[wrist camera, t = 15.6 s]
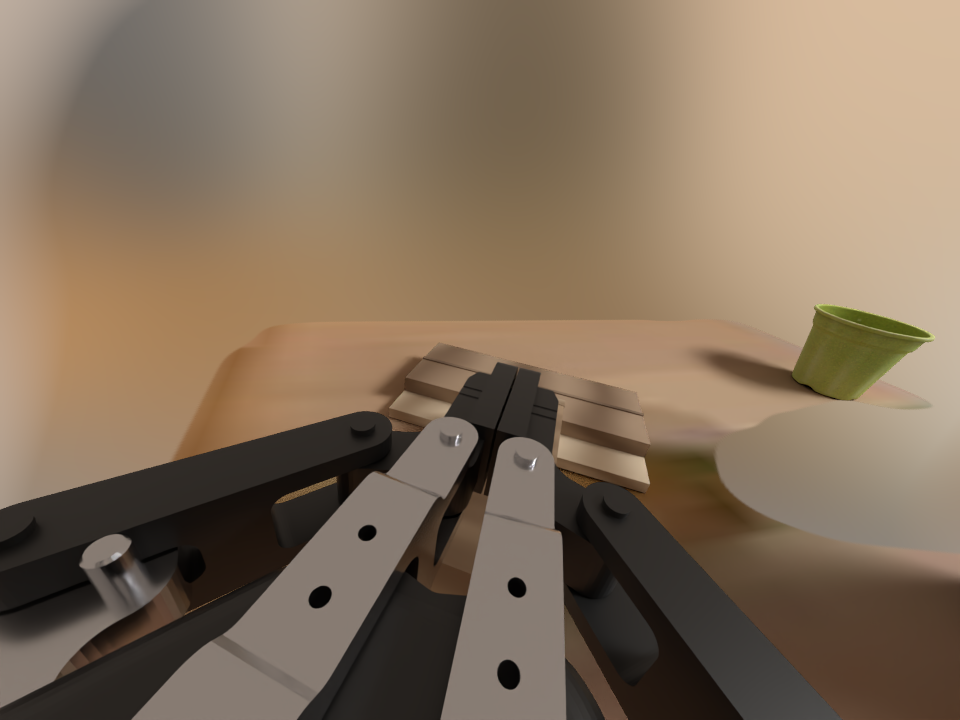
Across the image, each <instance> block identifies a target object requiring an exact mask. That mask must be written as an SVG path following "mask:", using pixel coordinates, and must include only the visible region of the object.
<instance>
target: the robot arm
mask: <svg viewBox="0 0 960 720" xmlns="http://www.w3.org/2000/svg"><path fill="white" fill-rule="evenodd" d="M517 373H518V374H517ZM540 375H541V372H537V371H533V370H529V369H525V368H521V367H520V369H519V372H518V367H517V366H513V365H509V364H505V363H501V362H497V364H496V366H495V367H494V369H493V371H492V373H491V375H490V374H486V373H482V372H477V373H476V374H474V375H472V376H470V377H469V378H468V379H467V381H466V382H465V384H464V386H463V387H462V389H461V390H460V392H459V394H458V395H457V397H456V398H455V400H454V402H453V403H452V405H451V406H450V408H449V410H448V411H447V413H446V414H445V416H444V417H442V418H438V419H435V420H433V421H431V422H430V423H429V424H428V425H427V426H426V427H425V428H424V429H423V430H422V431H421V432H400V431H392V424H391V422H390V420H389V419H388V418H387V417H385V416H384V415H382V414H379V413H376V412H369V411H362V412H356V413H351V414H348V415H344V416H340V417H337V418H333V419H329V420H326V421H322V422H318V423H314V424H311V425H307V426H303V427H300V428H296V429H292V430H288V431H285V432H281V433H277V434H274V435H270V436H266V437H263V438H259V439H255V440H251V441H248V442H244V443H240V444H237V445H233V446H229V447H225V448H222V449H218V450H214V451H211V452H207V453H203V454H199V455H196V456H192V457H188V458H185V459H181V460H177V461H174V462H170V463H166V464H163V465H159V466H155V467H151V468H148V469H144V470H140V471H137V472H133V473H129V474H125V475H122V476H118V477H114V478H111V479H107V480H104V481H100V482H96V483H92V484H88V485H85V486H81V487H78V488H73V489H70V490H66V491H62V492H59V493H55V494H51V495H47V496H44V497H40V498H36V499H33V500H29V501H26V502H22V503H18V504H15V505H12V506H9V507H6V508H4V509H1V510H0V720H605V718H604V716H603V714H602V712H601V710H600V708H599V706H598V704H597V702H596V700H595V699H594V697H593V695H592V694H591V692H590V690H589V689H588V687H587V685H586V684H585V682H584V681H583V679H582V678H581V677H580V675H579V674H578V673H577V671H576V670H575V669H574V667H573V666H572V665H571V664H570V663H569V662H568V660H567V659H566V658H565V639H564V604H565V606H566V608H567V609H568V611H569V613H570V615H571V617H572V618H573V620H574V622H575V624H576V626H577V627H578V629H579V631H580V633H581V635H582V637H583V638H584V640H585V642H586V644H587V646H588V647H589V649H590V651H591V653H592V655H593V656H594V658H595V660H596V662H597V664H598V665H599V667H600V669H601V671H602V673H603V674H604V676H605V678H606V680H607V682H608V684H609V685H610V687H611V689H612V691H613V693H614V694H615V696H616V698H617V700H618V702H619V703H620V705H621V707H622V709H623V711H624V712H625V714H626V716H627V718H628V720H842V719H841V718H840V716H839V715H838V714H837V713H836V712H835V711H834V710H833V709H832V708H831V707H830V706H829V705H828V704H827V702H826V701H825V700H824V699H823V698H822V697H821V696H820V695H819V694H818V693H817V692H816V691H815V690H814V688H813V687H812V686H811V685H810V684H809V683H808V682H807V681H806V680H805V679H804V678H803V677H802V676H801V674H800V673H799V672H798V671H797V670H796V669H795V668H794V667H793V666H792V665H791V664H790V663H789V662H788V660H787V659H786V658H785V657H784V656H783V655H782V654H781V653H780V652H779V651H778V650H777V649H776V648H775V646H774V645H773V644H772V643H771V642H770V641H769V640H768V639H767V638H766V637H765V636H764V635H763V633H762V632H761V631H760V630H759V629H758V628H757V627H756V626H755V625H754V624H753V623H752V622H751V621H750V619H749V618H748V617H747V616H746V615H745V614H744V613H743V612H742V611H741V610H740V609H739V608H738V607H737V605H736V604H735V603H734V602H733V601H732V600H731V599H730V598H729V597H728V596H727V595H726V594H725V593H724V591H723V590H722V589H721V588H720V587H719V586H718V585H717V584H716V583H715V582H714V581H713V580H712V579H711V577H710V576H709V575H708V574H707V573H706V572H705V571H704V570H703V569H702V568H701V567H700V566H699V565H698V563H697V562H696V561H695V560H694V559H693V558H692V557H691V556H690V555H689V554H688V553H687V552H686V551H685V549H684V548H683V547H682V546H681V545H680V544H679V543H678V542H677V541H676V540H675V539H674V538H673V536H672V535H671V534H670V533H669V532H668V531H667V530H666V529H665V528H664V527H663V526H662V525H661V524H660V522H659V521H658V520H657V519H656V518H655V517H654V516H653V515H652V514H651V513H650V512H649V511H648V510H647V508H646V507H645V506H644V505H643V504H642V503H641V502H640V501H639V500H638V499H637V498H636V497H635V496H634V495H633V494H631V493H630V492H629V491H627V490H625V489H624V488H622V487H620V486H617V485H615V484H611V483H606V482H597V483H593V484H590V485H589V486H587V488H584V487H583V486H581V485H579V484H577V483H576V482H574V481H572V480H571V479H569V478H568V477H566V476H565V475H564V474H563V473H562V472H561V471H560V470H559V469H558V467H557V466H556V464H555V462H554V458H553V456H552V451H553V443H554V435H555V427H556V419H557V411H558V403H559V401H558V399H557V397H556V395H555V393H554V391H552V390H548V389H544V388H540V387H538V384H539V380H540ZM333 477H336V478H337V483H334V484H332V485H329V486H326V487H324V488H321V489H318V490H316V491H313V492H310V493H308V494H305V495H302V496H300V497H297V498H294V499H292V500H289V501H286V502H283V503H279V504H274V503H275V502H276V501H277V500H278V499H280V498H281V497H283V496H285V495H287V494H289V493H292V492H295V491H297V490H300V489H303V488H306V487H308V486H311V485H314V484H317V483H319V482H322V481H325V480H328V479H330V478H333ZM486 479H487V481H486ZM485 482H486V486H485V490H484V495H486V496H488V500H487V505H486V509H485V513H484V518H483V523H482V527H481V532H480V537H479V541H478V546H477V550H476V555H475V560H474V564H473V569H472V574H471V578H470V583H469V588H468V592H467V596H465V595H453V594H441V593H435V592H433V591H431V587H432V584H433V582H434V579H435V576H436V574H437V572H438V570H439V568H440V566H441V564H442V561H443V559H444V557H445V555H446V553H447V551H448V549H449V547H450V544H451V542H452V540H453V538H454V536H455V534H456V532H457V530H458V528H459V525H460V523H461V521H462V519H463V517H464V514H465V510H466V507H467V505H468V503H469V501H470V498H471V496H472V493H473V492H476V493H479V494H482V491H483V488H484V485H485ZM288 564H289V565H288ZM286 565H288V566H286ZM284 566H285V567H284ZM241 586H242V587H241ZM239 587H240V588H239ZM237 588H238V589H237ZM235 589H236V590H235ZM233 590H234V591H233ZM231 591H232V592H231ZM229 592H230V593H229ZM227 593H228V594H227ZM224 594H226V595H224ZM222 595H224V596H222ZM220 596H222V597H220ZM218 597H220V598H218ZM216 598H218V599H216ZM214 599H216V600H214ZM212 600H214V601H212ZM210 601H212V602H210ZM207 602H210V603H208V604H206V605H204V606H202V607H200V608H199V609H197V610H195V611H193V612H191V613H189V614H187V615H185V613H186V612H188V611H190V610H193V609H195V608H197V607H199V606H201V605H203V604H205V603H207ZM184 615H185V616H184Z"/></svg>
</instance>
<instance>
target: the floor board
mask: <svg viewBox="0 0 960 720" xmlns="http://www.w3.org/2000/svg"><path fill="white" fill-rule="evenodd" d="M497 362H501V363H505V364H509V365H513V366H517V367H518V372H519V369H520V367H521V368H525V369H529V370H533V371H537V372H541V375H540V380H539V384H538V387H540V388H544V389H548V390H552V391H554V393H555V395H556V397H557V398H558V399H562V400H565V406H564V410H563V418H562V425H561V432H560V440H559V447H558V455H557V462H556V466H557V467H559V468H563V469H566V470H569V471H573V472H576V473H579V474H583V475H586V476H589V477H593V478H596V479H599V480H603V481H606V482H609V483H613V484H616V485H619V486H623V487H626V488H630V489H633V490H636V491H640V492H643V493H646V491H647V489H648V487H649V485H650V482H649V478H648V473H647V469H646V464H645V460H644V457H645V455H646V453H647V451H648V449H649V447H650V441H649V437H648V433H647V429H646V425H645V422H644V418H643V416H644V415H643V413H642V410H641V406H640V402H639V399H638V395H637V392H634V391H630V390H626V389H622V388H618V387H614V386H610V385H606V384H602V383H598V382H594V381H590V380H586V379H582V378H578V377H574V376H570V375H566V374H562V373H558V372H554V371H550V370H546V369H542V368H538V367H534V366H530V365H526V364H522V363H518V362H514V361H510V360H506V359H502V358H498V357H494V356H490V355H486V354H482V353H478V352H474V351H471V350H467V349H463V348H459V347H455V346H451V345H447V344H443V343H438V344H437V345H436V346H435V347H434V348H433V349H432V350H431V351H430V352H429V353H428V354H427V355H426V356H424V357H423V359H422V360H421V361H420V362H419V364H418V365H417V366H416V367H415V368H414V369H413V370H412V371H411V372H410V373H409V374H408V375H407V376H406V377H405V390H404V392H403V393H402V394H401V395H400V396H399V397H398V398H397V399H396V400H395V401H394V403H393V404H392V405H391V406H390V407H389V417H392V418H395V419H398V420H402V421H405V422H408V423H412V424H415V425H418V426H422V427H426V426H427V425H428V424H429V423H430V422H431V421H433V420H435V419H438V418H442V417H444V416H445V414H446V413H447V411H448V410H449V408H450V406H451V405H452V403H453V402H454V400H455V398H456V397H457V395H458V394H459V392H460V390H461V389H462V387H463V386H464V384H465V382H466V381H467V379H468V378H469V377H470V376H472V375H474V374H476V373H477V372H482V373H486V374H490V375H491V373H492V371H493V369H494V367H495V366H496V364H497ZM517 374H518V373H517Z"/></svg>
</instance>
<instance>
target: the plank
mask: <svg viewBox="0 0 960 720" xmlns="http://www.w3.org/2000/svg"><path fill="white" fill-rule="evenodd" d="M557 399H558V398H557ZM558 401H559V403H558V411H557V419H556V427H555V435H554V443H553V451H552V456H553V458H554V462H555V464H556V462H557V455H558V447H559V440H560V432H561V425H562V418H563V410H564V406H565V400H562V399H558ZM486 481H487V479H486ZM485 486H486V482H485V485H484V488H483V491H482V494H479V493H476V492H473V493H472V496H471V498H470V501H469V503H468V505H467V507H466V510H465V514H464V517H463V519H462V521H461V523H460V525H459V528H458V530H457V532H456V534H455V536H454V538H453V540H452V542H451V544H450V547H449V549H448V551H447V553H446V555H445V557H444V559H443V561H442V564H441V566H440V568H439V570H438V572H437V574H436V576H435V579H434V582H433V584H432V587H431V591H433V592H435V593H441V594H453V595H465V596H467V592H468V588H469V583H470V578H471V574H472V569H473V564H474V560H475V555H476V550H477V546H478V541H479V537H480V532H481V527H482V523H483V518H484V513H485V509H486V505H487V500H488V496H486V495H484V490H485Z"/></svg>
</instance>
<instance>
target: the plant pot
mask: <svg viewBox="0 0 960 720" xmlns="http://www.w3.org/2000/svg"><path fill="white" fill-rule="evenodd" d="M814 309H815V310H816V313H815V316H814V319H813V327H812V329H811V332H810V334H809V336H808V338H807V341H806V343H805V345H804V347H803V350H802V352H801V354H800V356H799V359H798V361H797V363H796V365H795V368H794V370H793V372H792V377H793V378H794V379H795V380H796V381H797V382H798V383H800V384H806V385H808V386H810V387H811V388H813V390H814V391H816V392H818V393H820V394H822V395H825V396H829V397H833V398H836V399H839V400H852V399H858V398H859V397H860V396H861V395H862V394H863V393H864V392H865V391H866V390H867V389H869V388H870V387H871V386H872V385H873V384H874V383H875V382H876V381H877V380H878V379H879V378H880V377H882V376H883V375H884V374H885V373H886V372H887V371H889V370H890V369H891V368H892V367H893V366H894V365H895V364H896V363H897V362H899V361H900V360H901V359H902V358H903V357H904V356H905V355H906V354H907V353H910V352H913V351H915V350H916V349H917V348H918V347H920V346H921V345H922V344H923V343H925V342H931V341H933V340H934V339H935V336H934V335H933V334H931V333H929V332H927V331H925V330H923V329H920V328H918V327H915V326H912V325H909V324H907V323H903V322H900V321H897V320H894V319H891V318H887V317H884V316H880V315H876V314H873V313H869V312H865V311H860V310H856V309H852V308H847V307H841V306H835V305H828V304H817V305H815V307H814Z"/></svg>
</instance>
